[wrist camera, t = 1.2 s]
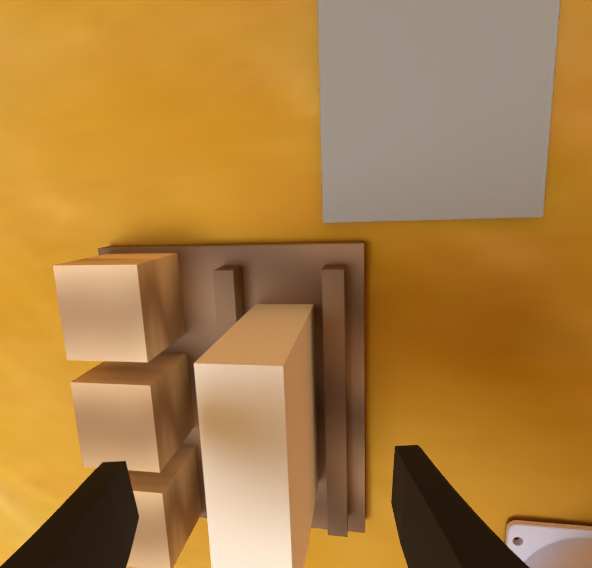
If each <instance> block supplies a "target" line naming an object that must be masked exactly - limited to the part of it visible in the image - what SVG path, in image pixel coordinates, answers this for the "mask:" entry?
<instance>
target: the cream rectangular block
mask: <svg viewBox="0 0 592 568" xmlns="http://www.w3.org/2000/svg"><path fill="white" fill-rule="evenodd" d="M194 373H195V384H196V395H197V407H198V418H199V429H200V441H201V452H202V464H203V475H204V486H205V498H206V509H207V520H208V532H209V543H210V554H211V566H212V568H304V566H305V560H306V554H307V548H308V542H309V536H310V530H311V524H312V518H313V512H314V506H315V500H316V494H317V488H318V482H319V476H318V440H317V404H316V368H315V332H314V304H255V305H254V306H253V307H252V308H251V309H250V310H249V311H248V312H247V313H246V314H245V315H244V316H243V317H242V318H240V319H239V320H238V321H237V322H236V323H235V324H234V325H233V326H232V327H231V328H230V329H229V330H228V331H227V332H226V333H225V334H224V335H223V336H222V337H221V338H220V339H219V340H218V341H217V342H215V343H214V344H213V345H212V346H211V347H210V348H209V349H208V350H207V351H206V352H205V353H204V354H203V355H202V356H201V357H200V358H199V359H198V360H197V361H196V362H195V363H194Z"/></svg>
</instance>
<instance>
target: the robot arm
mask: <svg viewBox="0 0 592 568" xmlns="http://www.w3.org/2000/svg"><path fill="white" fill-rule="evenodd" d="M391 503H392V508H393V512H394V517H395V522H396V526H397V530H398V535H399V539H400V543H401V547H402V550H403V553H404V556H405V559H406V562H407V565H408V568H592V526H581V525H569V524H557V523H546V522H534V521H522V520H513V521H510V522H509V523H508V524H507V527H506V538H505V543H504V542H503V541H502V540H501V539H500V538H499V537H498V536H497V535H496V534H495V533H494V532H493V531H492V530H491V529H490V528H489V527H488V526H487V525H486V524H485V523H484V522H483V520H482V519H481V518H480V517H479V516H478V515H477V514H476V513H475V512H474V511H473V510H472V508H471V507H470V506H469V505H468V504H467V503H466V502H465V501H464V500H463V498H462V497H461V496H460V495H459V494H458V493H457V492H456V490H455V489H454V488H453V487H452V486H451V485H450V483H449V482H448V481H447V480H446V479H445V477H444V476H443V475H442V474H441V473H440V471H439V470H438V469H437V468H436V466H435V465H434V464H433V463H432V461H431V460H430V459H429V458H428V456H427V455H426V454H425V453H424V451H423V450H422V449H421V448H420V447H419V446H418V445H409V446H395V454H394V470H393V486H392V501H391ZM138 520H139V514H138V509H137V505H136V501H135V497H134V493H133V489H132V485H131V481H130V477H129V473H128V468H127V464H126V461H115V462H102V463H101V464H100V466H99V467H98V468H97V469H96V470H95V471H94V472H93V473H92V474H91V475H90V476H89V477H88V478H87V479H86V480H85V481H84V482H83V483H82V484H81V485H80V486H79V488H78V489H77V490H76V491H75V492H74V493H73V494H72V495H71V496H70V497H69V498H68V499H67V500H66V501H65V502H64V503H63V505H62V506H61V507H60V508H59V509H58V510H57V511H56V512H55V513H54V514H53V515H52V516H51V517H50V518H49V519H48V520H47V521H46V522H45V523H44V524H43V525H42V526H41V527H40V528H39V529H38V530H37V531H36V532H35V533H34V534H33V535H32V536H31V537H30V538H29V539H28V540H27V541H26V542H25V543H24V544H23V545H22V546H21V547H20V548H19V549H18V550H17V551H16V552H15V553H14V554H13V555H12V556H11V557H10V558H9V559H8V560H7V561H6V562H5V563H4V564H3V565H2V566H1V567H0V568H126V566H127V563H128V560H129V557H130V553H131V549H132V545H133V541H134V537H135V533H136V529H137V524H138ZM515 537H520V538H519V539H518V540H514V538H515Z"/></svg>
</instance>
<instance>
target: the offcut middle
mask: <svg viewBox="0 0 592 568" xmlns="http://www.w3.org/2000/svg"><path fill="white" fill-rule="evenodd" d="M71 389H72V396H73V402H74V409H75V416H76V422H77V429H78V436H79V442H80V449H81V455H82V462H83V467H92V468H98V467H99V466H100V464H101V463H102V462H115V461H126V464H127V468H128V470H131V471H144V472H157V473H160V472H161V471H162V469H163V468H164V467H165V465H166V464H167V463H168V461H169V460H170V459H171V457H172V456H173V455H174V453H175V452H176V451H177V449H178V448H179V447H180V445H181V444H182V443H183V441H184V440H185V439H186V437H187V436H188V435H189V433H190V432H191V431H192V429H193V428H194V425H193V414H192V403H191V392H190V381H189V370H188V359H187V354H184V353H160V354H158V355H157V356H156V357H154V358H153V359H152V360H150V361H149V362H116V361H104V362H102V363H101V364H99V365H97V366H96V367H94V368H93V369H91V370H89V371H88V372H86V373H85V374H83V375H81V376H80V377H78V378H77V379H75V380H73V381H72V382H71Z"/></svg>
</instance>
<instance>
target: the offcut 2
mask: <svg viewBox="0 0 592 568" xmlns="http://www.w3.org/2000/svg"><path fill="white" fill-rule="evenodd" d="M128 473H129V477H130V481H131V485H132V489H133V493H134V497H135V501H136V505H137V509H138V514H139V520H138V524H137V529H136V533H135V537H134V541H133V545H132V549H131V553H130V557H129V560H128V563H127V566H129V567H137V568H173V566H174V565H175V563H176V561H177V559H178V557H179V555H180V553H181V551H182V549H183V547H184V545H185V543H186V542H187V540H188V538H189V536H190V534H191V532H192V530H193V528H194V526H195V524H196V522H197V520H198V519H199V517H200V515H201V502H200V491H199V480H198V469H197V458H196V447H195V445H183V444H181V445H180V447H179V448H178V449H177V451H176V452H175V453H174V455H173V456H172V457H171V459H170V460H169V461H168V463H167V464H166V465H165V467H164V468H163V469H162V471H161V472H160V473H157V472H144V471H131V470H128Z"/></svg>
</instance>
